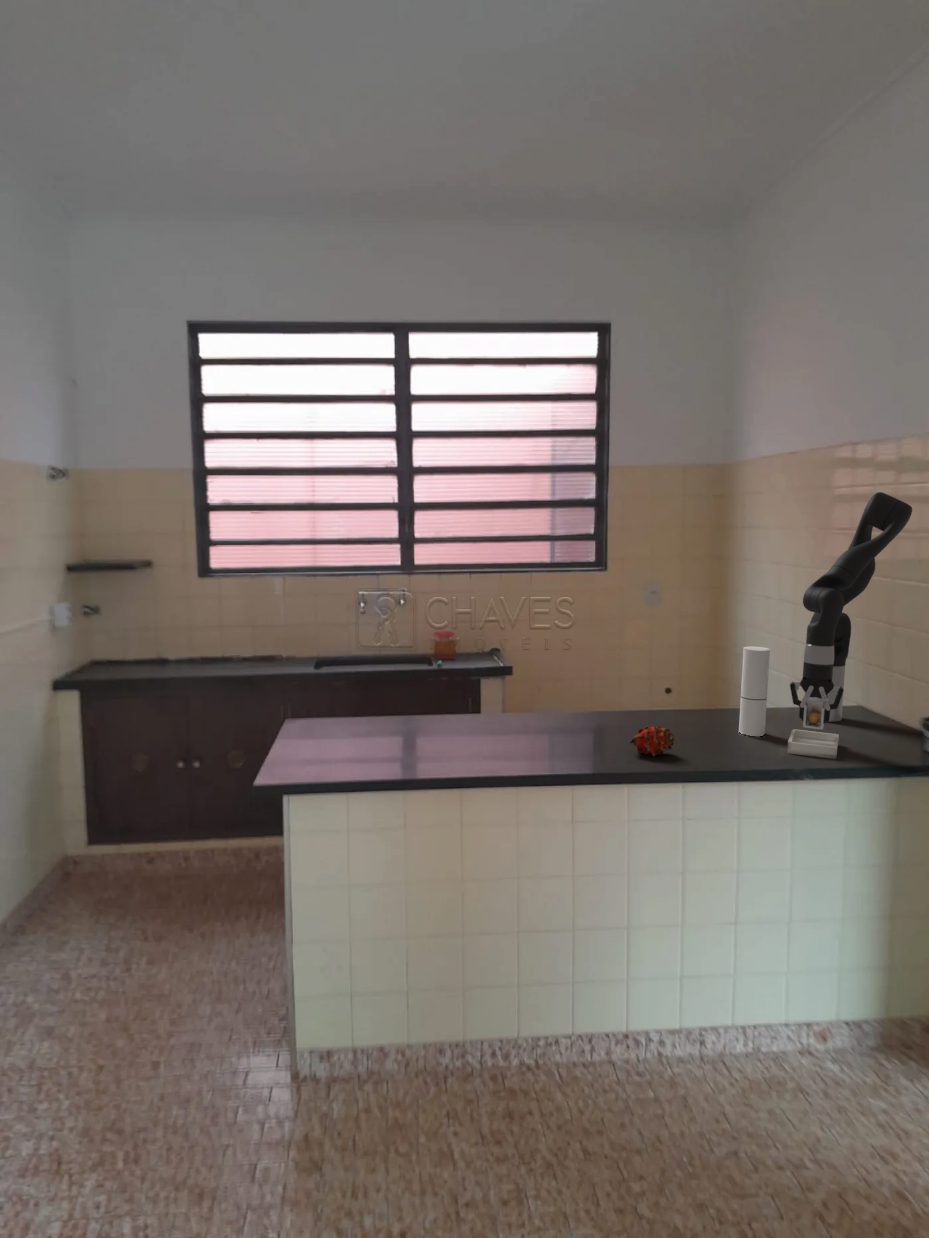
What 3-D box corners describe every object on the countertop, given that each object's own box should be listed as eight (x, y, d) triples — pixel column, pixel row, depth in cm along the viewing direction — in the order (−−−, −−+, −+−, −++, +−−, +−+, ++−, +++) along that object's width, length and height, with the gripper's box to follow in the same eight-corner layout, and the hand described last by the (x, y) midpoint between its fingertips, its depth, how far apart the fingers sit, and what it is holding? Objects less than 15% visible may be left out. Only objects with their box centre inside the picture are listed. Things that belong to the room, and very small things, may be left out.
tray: (791, 739, 244) (792, 729, 243) (837, 744, 239) (838, 734, 238) (787, 753, 230) (787, 742, 230) (836, 759, 225) (836, 748, 225)
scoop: (805, 720, 241) (806, 699, 240) (824, 722, 239) (826, 701, 238) (802, 727, 234) (804, 705, 233) (822, 729, 232) (824, 707, 231)
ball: (804, 715, 237) (806, 718, 234) (813, 709, 236) (815, 712, 233) (812, 724, 237) (813, 727, 234) (821, 717, 236) (822, 720, 233)
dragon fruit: (677, 760, 228) (633, 767, 227) (667, 735, 234) (624, 742, 233) (681, 740, 222) (635, 748, 221) (670, 715, 228) (626, 722, 227)
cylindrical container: (765, 732, 251) (771, 647, 248) (763, 738, 245) (768, 651, 241) (740, 729, 254) (745, 645, 251) (737, 735, 248) (741, 649, 244)
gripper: (789, 660, 233) (784, 721, 236) (847, 665, 227) (842, 728, 230) (791, 655, 240) (787, 715, 243) (847, 660, 234) (843, 721, 237)
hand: (814, 721), depth 236 cm, fingers closed on scoop, 5 cm apart
